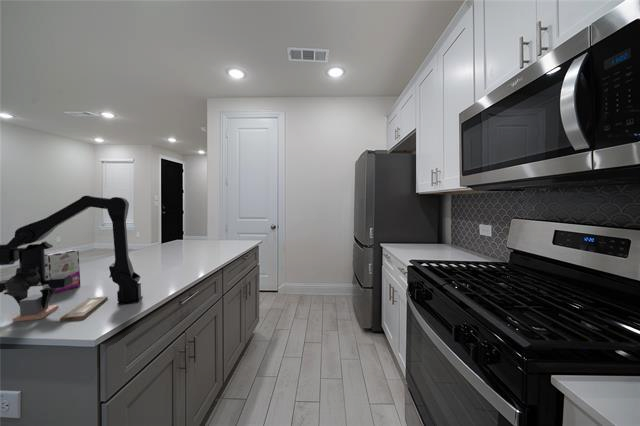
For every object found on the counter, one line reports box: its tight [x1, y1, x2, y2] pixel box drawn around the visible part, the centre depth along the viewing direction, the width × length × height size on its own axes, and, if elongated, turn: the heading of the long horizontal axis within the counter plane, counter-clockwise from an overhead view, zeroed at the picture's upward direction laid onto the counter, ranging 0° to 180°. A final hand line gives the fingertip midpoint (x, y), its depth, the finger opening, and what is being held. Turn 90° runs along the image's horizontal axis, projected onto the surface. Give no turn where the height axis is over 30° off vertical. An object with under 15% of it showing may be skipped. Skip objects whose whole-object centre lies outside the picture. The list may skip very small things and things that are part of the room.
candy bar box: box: [42, 249, 81, 295], centre depth 112 cm, size 11×5×16 cm, turn 168°
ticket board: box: [59, 296, 108, 323], centre depth 93 cm, size 6×18×1 cm, turn 19°
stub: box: [12, 293, 59, 322], centre depth 88 cm, size 7×9×6 cm
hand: (34, 308), depth 88 cm, fingers open, 5 cm apart
